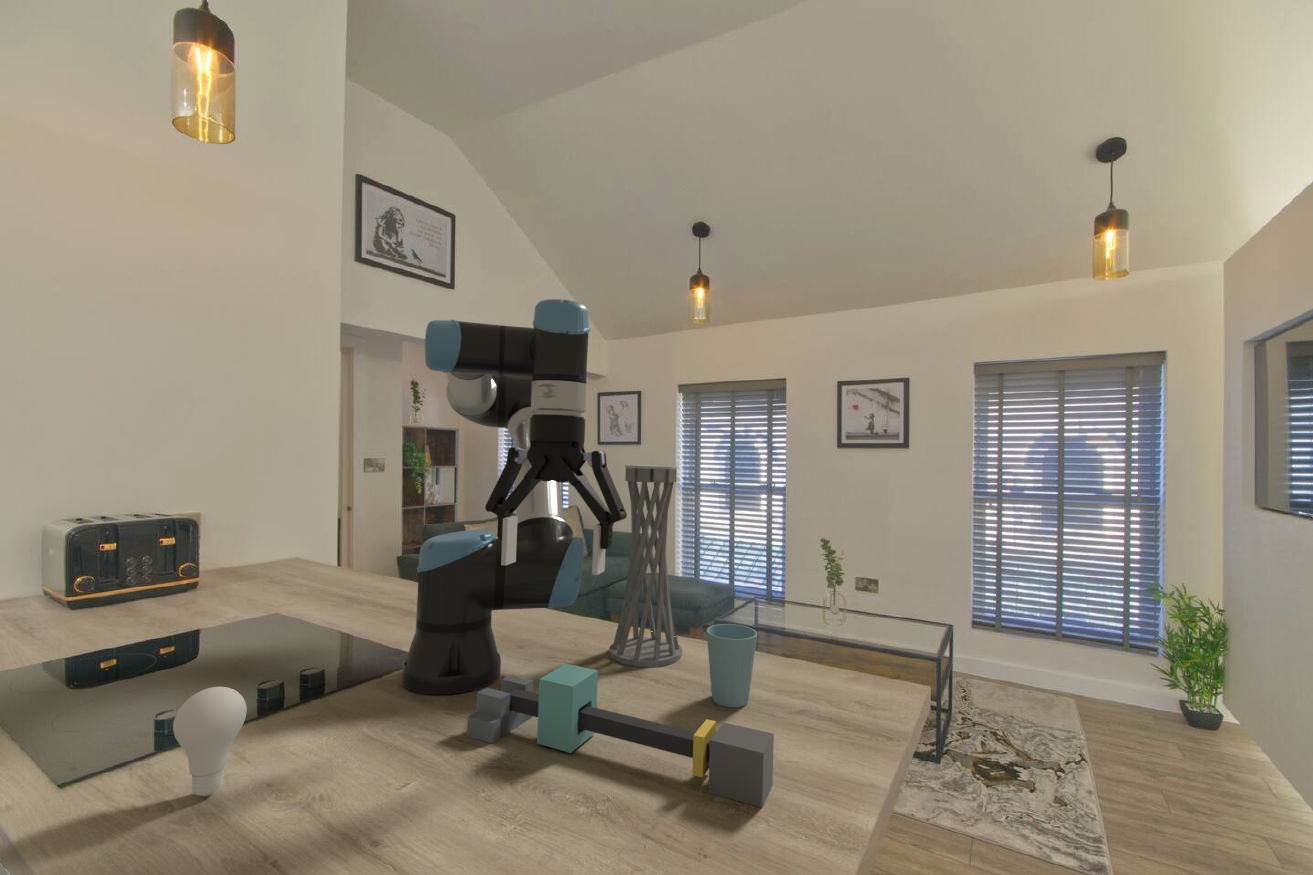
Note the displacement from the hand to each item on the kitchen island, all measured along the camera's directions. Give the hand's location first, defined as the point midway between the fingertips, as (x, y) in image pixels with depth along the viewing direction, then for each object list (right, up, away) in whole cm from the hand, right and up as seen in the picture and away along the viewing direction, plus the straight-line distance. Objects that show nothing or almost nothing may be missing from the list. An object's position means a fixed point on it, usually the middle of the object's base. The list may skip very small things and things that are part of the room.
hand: (552, 568), depth 79 cm
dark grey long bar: (+10, -20, -9) cm, 24 cm away
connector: (+24, -21, -15) cm, 35 cm away
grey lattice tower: (+12, -22, +28) cm, 38 cm away
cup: (+26, -22, +8) cm, 35 cm away
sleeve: (+3, -21, -5) cm, 22 cm away
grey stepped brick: (-6, -21, -1) cm, 22 cm away
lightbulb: (-33, -20, -19) cm, 43 cm away
